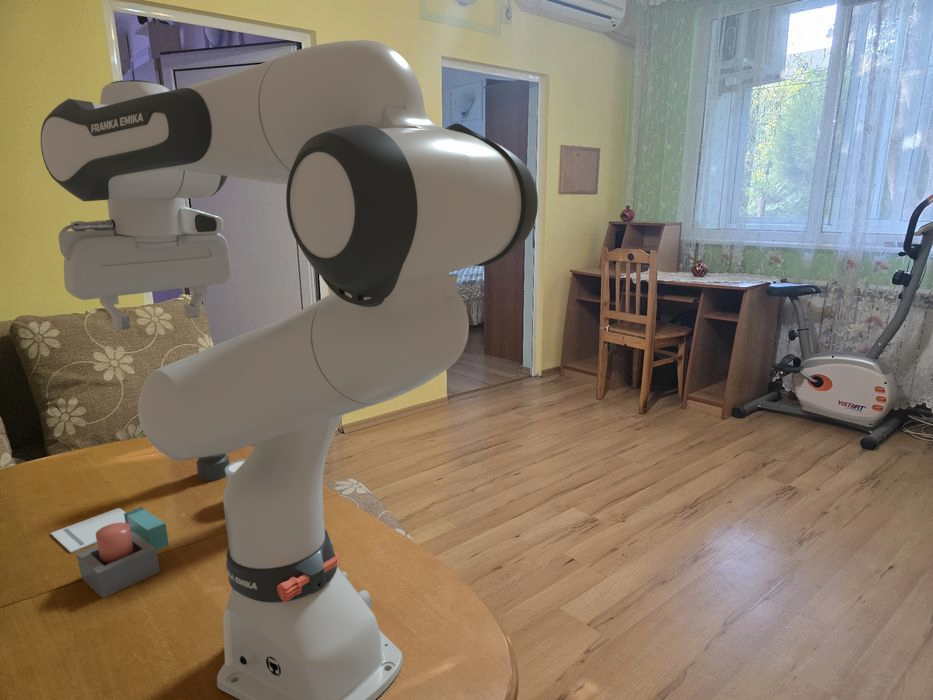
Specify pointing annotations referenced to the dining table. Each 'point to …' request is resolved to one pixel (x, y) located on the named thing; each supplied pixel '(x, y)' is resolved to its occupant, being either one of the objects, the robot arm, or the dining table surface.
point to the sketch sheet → (86, 530)
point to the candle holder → (212, 467)
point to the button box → (118, 567)
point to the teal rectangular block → (147, 527)
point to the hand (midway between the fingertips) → (158, 322)
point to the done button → (114, 542)
